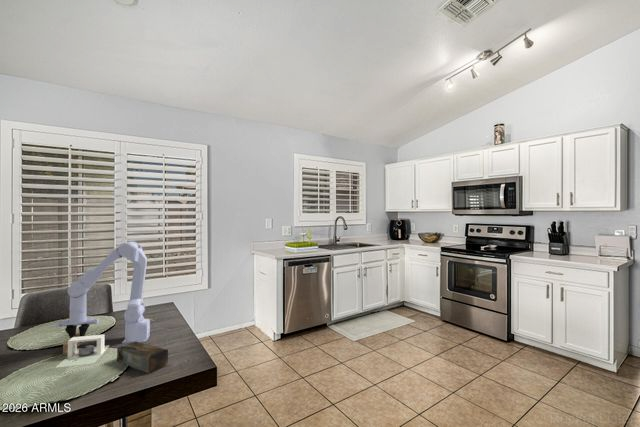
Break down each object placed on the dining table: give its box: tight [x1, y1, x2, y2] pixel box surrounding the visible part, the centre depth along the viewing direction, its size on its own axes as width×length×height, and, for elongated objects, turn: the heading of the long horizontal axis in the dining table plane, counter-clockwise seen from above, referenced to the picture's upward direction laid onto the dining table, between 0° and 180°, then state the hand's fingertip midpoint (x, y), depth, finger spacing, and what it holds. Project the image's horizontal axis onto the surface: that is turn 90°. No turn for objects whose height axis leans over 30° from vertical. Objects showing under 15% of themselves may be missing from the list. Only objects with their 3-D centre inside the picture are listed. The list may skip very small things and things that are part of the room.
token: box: [78, 344, 95, 357], centre depth 124 cm, size 5×5×2 cm
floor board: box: [54, 344, 111, 368], centre depth 122 cm, size 12×17×1 cm
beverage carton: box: [116, 341, 169, 374], centre depth 117 cm, size 8×19×7 cm, turn 64°
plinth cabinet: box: [67, 334, 106, 358], centre depth 124 cm, size 11×4×7 cm, turn 107°
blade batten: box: [62, 330, 88, 355], centre depth 131 cm, size 2×16×5 cm, turn 17°
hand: (77, 342), depth 133 cm, fingers closed on blade batten, 2 cm apart
